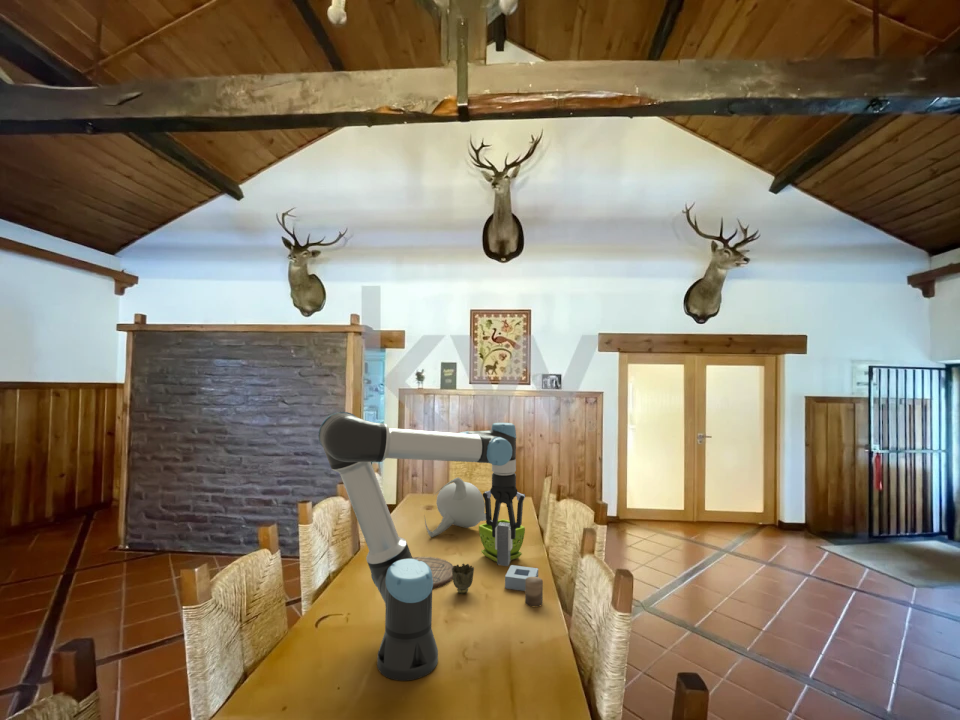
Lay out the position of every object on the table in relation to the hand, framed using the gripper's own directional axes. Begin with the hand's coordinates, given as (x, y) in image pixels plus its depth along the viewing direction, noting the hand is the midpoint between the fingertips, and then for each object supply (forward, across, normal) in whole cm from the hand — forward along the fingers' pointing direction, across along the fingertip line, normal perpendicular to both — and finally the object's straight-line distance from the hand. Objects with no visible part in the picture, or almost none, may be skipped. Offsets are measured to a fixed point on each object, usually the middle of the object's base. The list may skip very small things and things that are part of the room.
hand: (503, 548), depth 143 cm
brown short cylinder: (+19, -8, -8) cm, 22 cm away
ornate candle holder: (+19, +16, -8) cm, 26 cm away
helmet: (+19, +37, -65) cm, 77 cm away
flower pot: (+19, +10, -41) cm, 46 cm away
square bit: (+5, 0, 0) cm, 5 cm away
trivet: (+19, +35, -16) cm, 43 cm away
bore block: (+19, -2, -20) cm, 28 cm away
